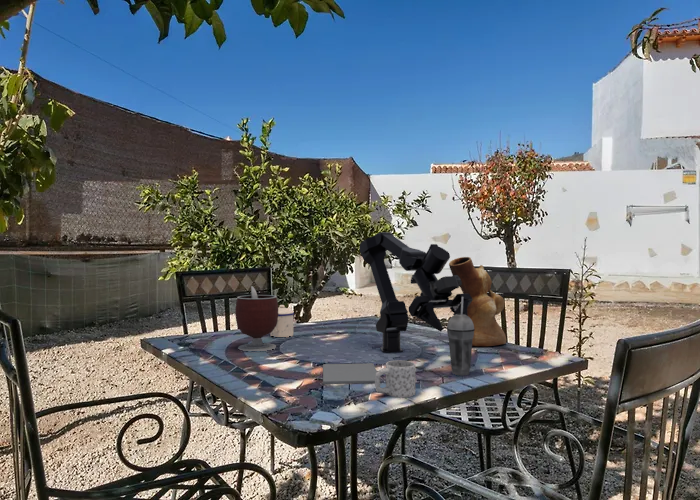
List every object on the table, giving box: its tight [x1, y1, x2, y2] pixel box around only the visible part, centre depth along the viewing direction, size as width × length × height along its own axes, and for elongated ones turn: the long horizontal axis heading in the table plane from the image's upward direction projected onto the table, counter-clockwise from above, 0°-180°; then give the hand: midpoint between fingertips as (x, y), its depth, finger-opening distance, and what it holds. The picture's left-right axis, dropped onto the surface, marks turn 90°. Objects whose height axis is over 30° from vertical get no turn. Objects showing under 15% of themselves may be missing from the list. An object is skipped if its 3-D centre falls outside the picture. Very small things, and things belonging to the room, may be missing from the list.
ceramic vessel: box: [448, 256, 507, 347], centre depth 166 cm, size 16×22×30 cm
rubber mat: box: [322, 362, 382, 385], centre depth 127 cm, size 18×14×1 cm
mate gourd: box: [234, 285, 279, 352], centre depth 161 cm, size 16×14×20 cm
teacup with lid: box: [269, 304, 295, 338], centre depth 182 cm, size 12×9×12 cm
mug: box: [374, 360, 416, 398], centre depth 109 cm, size 10×7×7 cm, turn 118°
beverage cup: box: [446, 297, 475, 376], centre depth 127 cm, size 7×7×20 cm
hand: (455, 328), depth 129 cm, fingers open, 9 cm apart
